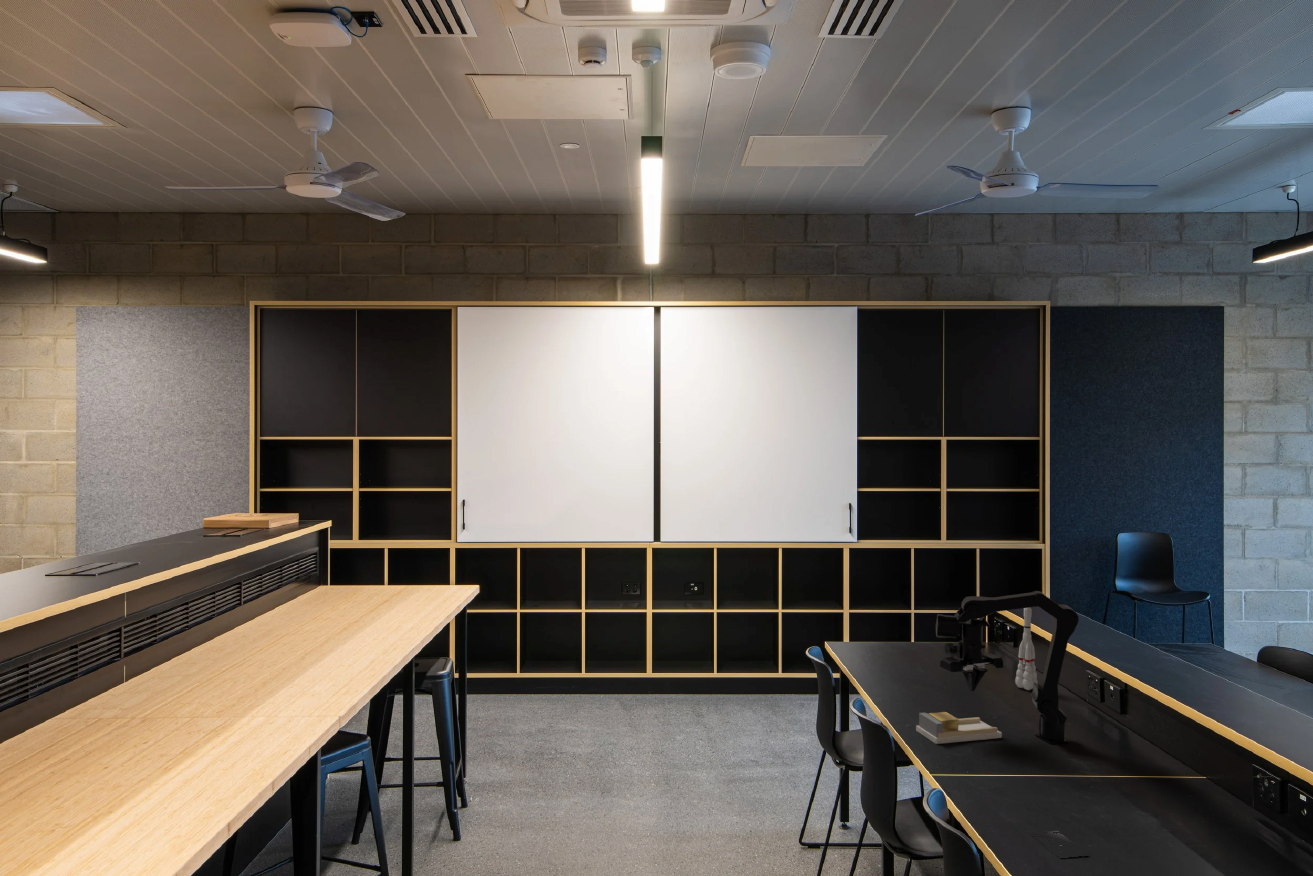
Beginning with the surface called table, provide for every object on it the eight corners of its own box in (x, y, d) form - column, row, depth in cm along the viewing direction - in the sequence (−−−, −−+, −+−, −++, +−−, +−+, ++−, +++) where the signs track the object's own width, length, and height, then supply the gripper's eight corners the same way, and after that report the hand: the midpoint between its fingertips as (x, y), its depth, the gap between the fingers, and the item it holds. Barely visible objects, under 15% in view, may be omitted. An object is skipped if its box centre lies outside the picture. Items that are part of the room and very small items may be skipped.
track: (979, 725, 233) (979, 707, 233) (1001, 737, 223) (1002, 719, 223) (916, 730, 227) (916, 712, 227) (936, 744, 218) (936, 725, 218)
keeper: (945, 725, 228) (945, 712, 228) (958, 733, 222) (958, 719, 222) (928, 726, 226) (928, 713, 226) (940, 734, 220) (940, 721, 220)
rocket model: (1012, 684, 272) (1014, 601, 272) (1034, 686, 271) (1036, 602, 270) (1017, 691, 265) (1019, 605, 265) (1040, 693, 263) (1042, 606, 263)
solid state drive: (1059, 860, 159) (1059, 857, 159) (1029, 835, 169) (1029, 832, 169) (1089, 858, 160) (1089, 855, 160) (1058, 833, 170) (1058, 830, 170)
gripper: (980, 630, 239) (979, 680, 239) (929, 634, 234) (928, 685, 234) (1005, 640, 228) (1004, 692, 228) (952, 644, 223) (951, 697, 223)
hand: (971, 691), depth 229 cm, fingers closed
